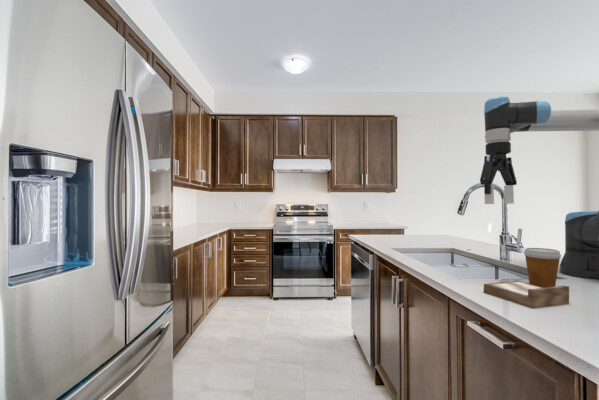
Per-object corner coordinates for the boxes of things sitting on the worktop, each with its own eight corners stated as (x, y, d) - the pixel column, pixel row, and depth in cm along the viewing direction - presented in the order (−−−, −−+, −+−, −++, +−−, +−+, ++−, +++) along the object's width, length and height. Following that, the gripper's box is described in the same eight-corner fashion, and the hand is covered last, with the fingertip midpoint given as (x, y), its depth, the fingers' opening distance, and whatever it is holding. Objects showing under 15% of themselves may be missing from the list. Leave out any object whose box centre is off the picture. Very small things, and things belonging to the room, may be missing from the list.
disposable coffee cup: (568, 293, 97) (568, 252, 97) (532, 291, 99) (532, 251, 99) (550, 285, 107) (550, 248, 106) (518, 283, 108) (518, 247, 108)
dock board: (516, 288, 102) (516, 274, 102) (569, 303, 87) (569, 286, 87) (483, 292, 98) (483, 277, 98) (532, 308, 84) (532, 290, 84)
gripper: (504, 147, 124) (505, 203, 124) (467, 141, 110) (469, 204, 110) (526, 144, 118) (528, 203, 117) (490, 137, 104) (492, 204, 104)
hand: (499, 203), depth 114 cm, fingers open, 13 cm apart
